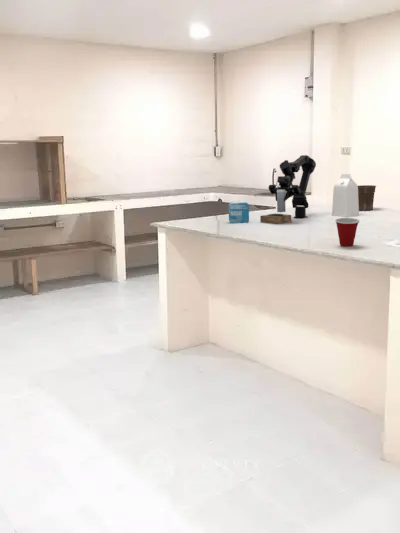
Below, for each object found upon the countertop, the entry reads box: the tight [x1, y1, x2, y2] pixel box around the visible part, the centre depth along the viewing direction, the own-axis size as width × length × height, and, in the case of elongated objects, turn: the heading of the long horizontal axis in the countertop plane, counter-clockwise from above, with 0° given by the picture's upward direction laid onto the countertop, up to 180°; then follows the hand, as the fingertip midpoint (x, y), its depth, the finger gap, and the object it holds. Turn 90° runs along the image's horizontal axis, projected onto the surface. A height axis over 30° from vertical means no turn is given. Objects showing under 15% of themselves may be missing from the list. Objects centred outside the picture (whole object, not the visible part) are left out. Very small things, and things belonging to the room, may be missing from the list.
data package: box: [228, 201, 250, 224], centre depth 346 cm, size 12×4×12 cm, turn 92°
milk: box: [331, 173, 360, 218], centre depth 357 cm, size 12×12×26 cm
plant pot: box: [357, 184, 377, 212], centre depth 382 cm, size 16×16×16 cm
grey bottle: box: [276, 189, 286, 213], centre depth 333 cm, size 5×5×13 cm
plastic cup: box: [334, 217, 360, 247], centre depth 258 cm, size 11×11×12 cm
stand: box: [259, 213, 292, 225], centre depth 343 cm, size 13×13×4 cm
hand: (280, 200), depth 332 cm, fingers closed on grey bottle, 5 cm apart
